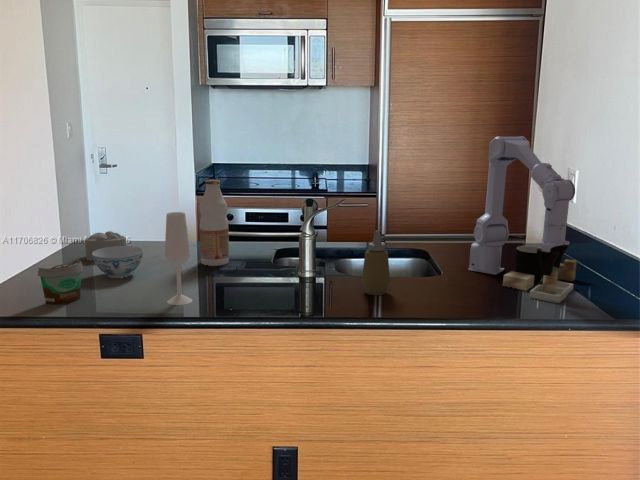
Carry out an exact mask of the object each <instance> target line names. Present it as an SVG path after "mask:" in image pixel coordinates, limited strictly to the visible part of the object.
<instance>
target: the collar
mask: <svg viewBox="0 0 640 480" xmlns="http://www.w3.org/2000/svg"><path fill="white" fill-rule="evenodd" d="M556 288H562V289H568V290H567V295H568V294H569V293H570V292H571V291H573V289H574V283H570V282H565V281H558V280H557V286H556Z"/></svg>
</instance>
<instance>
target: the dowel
mask: <svg viewBox="0 0 640 480" xmlns="http://www.w3.org/2000/svg"><path fill="white" fill-rule="evenodd" d="M557 277H558V268H557V267H553V270H552V273H551V276H546V275H544V277H542V278H543V279H542V285H543V287H542V293H547V294H553V295H556V286H557V281H558V279H557Z"/></svg>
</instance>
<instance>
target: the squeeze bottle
mask: <svg viewBox="0 0 640 480" xmlns="http://www.w3.org/2000/svg"><path fill="white" fill-rule="evenodd" d="M389 263H390V262H389V252H388V251H386V244H385V242H382V238H381V233H380V230H375V231H374V235H373V238H372V241H371V242H369V243H368V249H367V250H366V251H365V252H364V260H363V267H362V274H361V283H362V286H363V290H364V292H365V294H367V295H369V296H370V295H371V296H383V295H385V294H386V293H387V290H388V289H389V285H390V281H391V277H390V276H391V275H390V265H389Z"/></svg>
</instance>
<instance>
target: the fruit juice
mask: <svg viewBox="0 0 640 480" xmlns="http://www.w3.org/2000/svg"><path fill="white" fill-rule="evenodd" d="M204 186H205V190H204V193H203V196H202V199H201V201H200V202H199V206H198V207H199V212H200V215H201V216H200V219H199V242H200V244H199V247H200V262H201V264H202V265H203V264H204V266H206V265H208V267H221V266H225V265H227V264H229V262H230V246H229V245H230V243H229V241H230V240H229V220H228V217H227V212H228V204H227V201H226V200H225V198H224V196H223V193H222V190H221V187H220V186H221V181H220V179H207V180H206V179H205V182H204Z"/></svg>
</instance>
